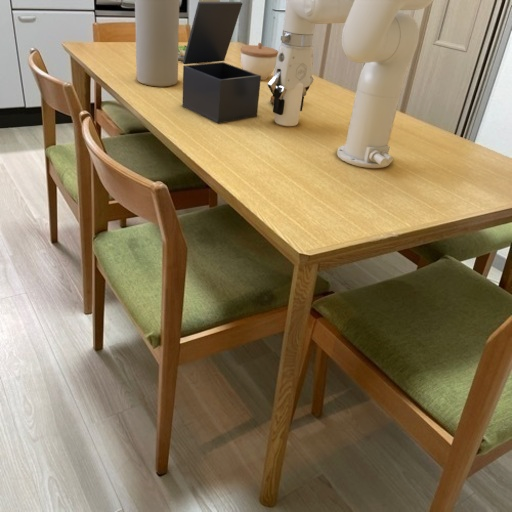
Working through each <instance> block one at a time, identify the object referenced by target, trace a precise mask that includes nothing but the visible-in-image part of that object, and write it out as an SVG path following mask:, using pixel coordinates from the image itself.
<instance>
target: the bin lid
mask: <svg viewBox="0 0 512 512" xmlns="http://www.w3.org/2000/svg"><path fill="white" fill-rule="evenodd" d="M242 7H243V2H242V1H221V0H198V1H197V6H196V10H195V13H194V17H193V21H192V25H191V29H190V33H189V37H188V41H187V44H186V46H187V48H186V52H185V56H184V59H183V61H182V64H183V65H195V64H207V63H218V62H224V61H225V59H226V57H227V54H228V51H229V48H230V43H231V41H232V38H233V35H234V32H235V28H236V25H237V22H238V19H239V17H240V12H241V9H242Z"/></svg>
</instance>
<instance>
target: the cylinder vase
mask: <svg viewBox="0 0 512 512" xmlns="http://www.w3.org/2000/svg"><path fill="white" fill-rule="evenodd" d="M134 18H135V19H134V23H135V24H134V25H135V64H136V65H135V66H136V80H137V81H138V83H140V84H142V85H145V86H150V87H160V88H161V87H171V86H174V85H176V84H177V83H178V81H179V60H178V47H179V37H180V36H179V35H180V32H179V31H180V0H134Z"/></svg>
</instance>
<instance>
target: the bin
mask: <svg viewBox="0 0 512 512" xmlns="http://www.w3.org/2000/svg"><path fill="white" fill-rule="evenodd" d="M261 82H262V80H261V76H260V75H258V74H255V73H252V72H249V71H247V70H244V69H242V67H238V66H235V65H233V64H230V63H227V62H224V61H218V62H207V63H195V64H183V67H182V102H181V103H182V105H181V106H182V108H185V109H186V110H188V111H192V112H193V113H196V114H198V115H200V116H202V117H204V118H206V119H208V120H209V121H212V122H215V123H216V124H222V123H227V122H234V121H239V120H244V119H245V120H246V119H249V118H250V119H251V118H255V117H258V109H259V101H260V91H261V90H260V89H261Z"/></svg>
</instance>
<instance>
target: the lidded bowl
mask: <svg viewBox="0 0 512 512" xmlns="http://www.w3.org/2000/svg"><path fill="white" fill-rule="evenodd" d="M278 51H279V50H277V49H276V48H273V47H269V46H265V45H263V43H262V42H258V43H257V45H256V44H254V45H253V44H251V45H250V44H249V45H243V46H241V47H240V58H239V59H240V66H241V67H240V68H241V69H244V70H247V71H249V72H252V73H255V74H258V75H260V76H261V81H265V80H267V79H268V77H270V76H271V75H272V74H273V73H274V70H275V64H276V59H277V55H278Z"/></svg>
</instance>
